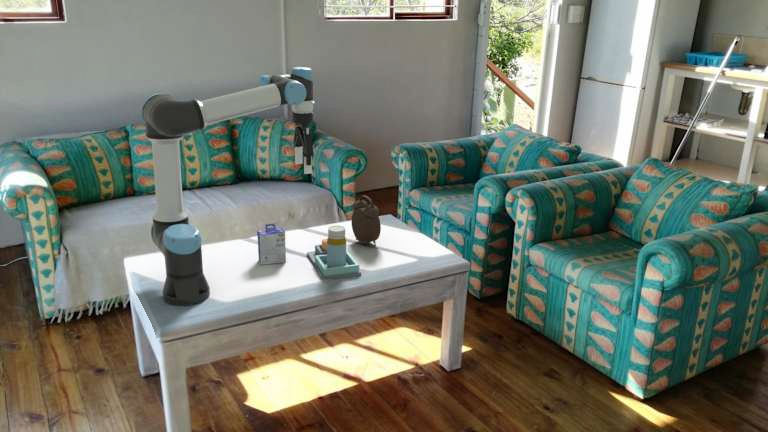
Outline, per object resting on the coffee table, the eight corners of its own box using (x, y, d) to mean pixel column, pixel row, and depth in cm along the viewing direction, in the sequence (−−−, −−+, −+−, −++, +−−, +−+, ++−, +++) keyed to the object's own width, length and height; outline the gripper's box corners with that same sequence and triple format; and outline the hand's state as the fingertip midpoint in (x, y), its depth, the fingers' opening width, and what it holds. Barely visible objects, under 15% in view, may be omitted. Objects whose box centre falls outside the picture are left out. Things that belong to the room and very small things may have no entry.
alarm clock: (383, 247, 267) (384, 200, 260) (367, 250, 263) (368, 202, 257) (364, 235, 279) (365, 190, 272) (349, 238, 275) (350, 192, 268)
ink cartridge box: (283, 256, 255) (282, 221, 251) (286, 262, 251) (286, 226, 246) (257, 260, 252) (256, 224, 247) (260, 265, 247) (259, 229, 242)
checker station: (324, 280, 237) (323, 269, 235) (307, 254, 258) (306, 244, 256) (361, 275, 241) (361, 264, 240) (341, 250, 263) (341, 241, 261)
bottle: (349, 265, 246) (350, 227, 241) (338, 272, 241) (338, 233, 236) (334, 261, 250) (334, 223, 245) (323, 267, 244) (323, 229, 239)
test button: (323, 256, 252) (323, 243, 250) (320, 251, 256) (320, 239, 255) (335, 254, 254) (335, 242, 252) (332, 250, 258) (332, 238, 256)
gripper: (322, 117, 229) (322, 176, 236) (304, 104, 251) (304, 159, 258) (300, 118, 226) (301, 178, 233) (284, 105, 248) (285, 160, 255)
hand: (303, 168), depth 246 cm, fingers open, 13 cm apart
